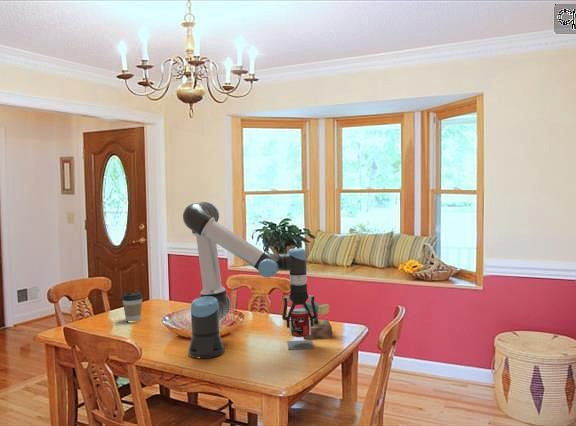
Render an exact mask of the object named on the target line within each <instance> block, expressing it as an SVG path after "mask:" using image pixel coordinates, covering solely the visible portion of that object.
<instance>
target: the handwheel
mask: <svg viewBox="0 0 576 426" xmlns="http://www.w3.org/2000/svg"><path fill="white" fill-rule="evenodd" d="M306 304H307V306H308V309H309V311H310V313H311V314H312V313H313V310H312V305H311V301H310V300H309V301H306ZM314 304H315V309H316V314H317V318H314V319H313V320H314V323H318V320H319V315H320V316H321V315H325V314H328V313H330V304H327V303H326V304H325V303H320V302H315V301H314ZM302 308H303V309H305V307H304V305H302Z"/></svg>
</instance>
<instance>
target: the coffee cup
mask: <svg viewBox="0 0 576 426" xmlns="http://www.w3.org/2000/svg"><path fill="white" fill-rule="evenodd" d="M143 296H144V295H143V294H142V293H141V292H140V291H131V292H125V293H123V295H122V296H121V301H122V305H123V310H124V311H123V312H124V315H125V320H126V322H127V321H138V320H140V321H141V318H142V307H143V306H142V305H143V304H142V303H143V299H144V297H143Z"/></svg>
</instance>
